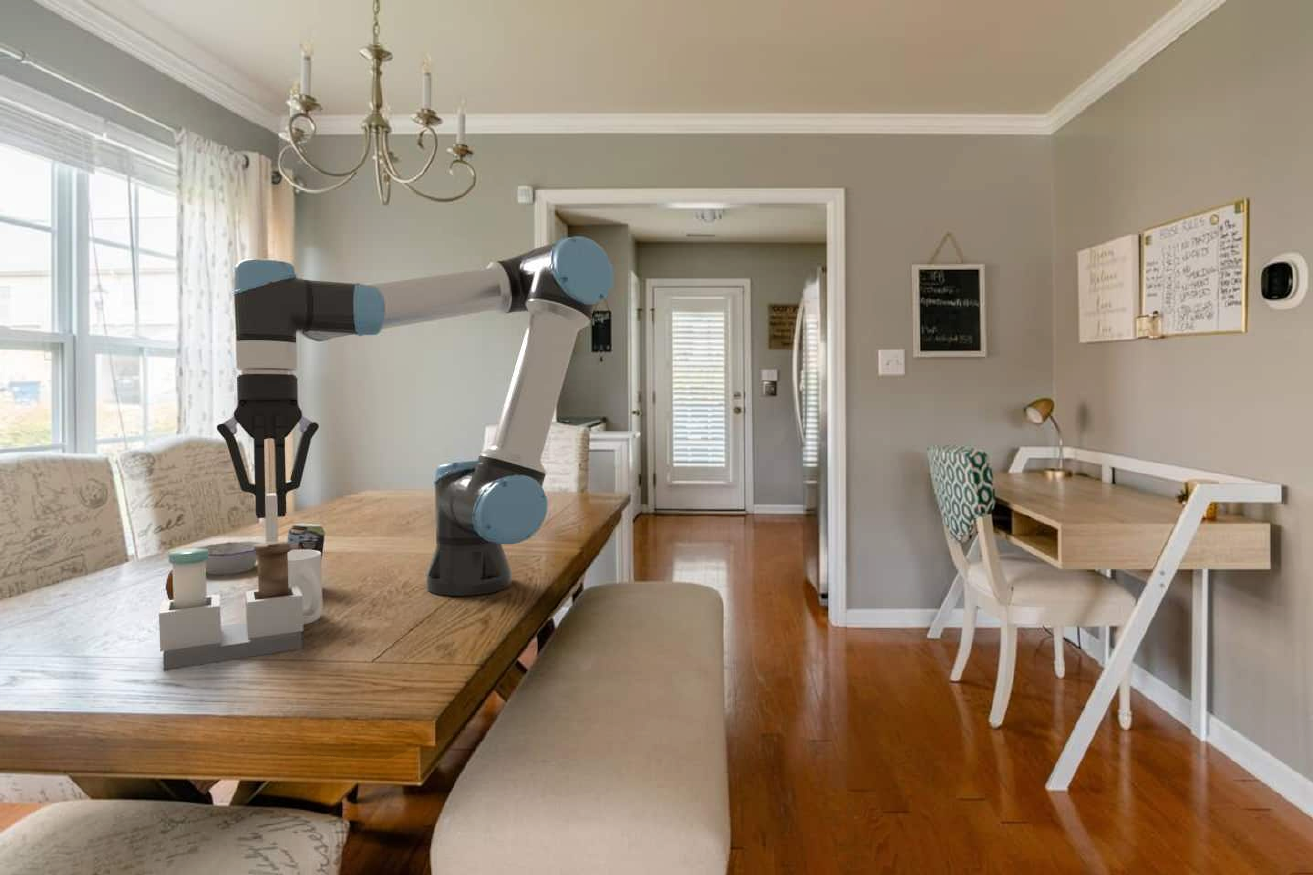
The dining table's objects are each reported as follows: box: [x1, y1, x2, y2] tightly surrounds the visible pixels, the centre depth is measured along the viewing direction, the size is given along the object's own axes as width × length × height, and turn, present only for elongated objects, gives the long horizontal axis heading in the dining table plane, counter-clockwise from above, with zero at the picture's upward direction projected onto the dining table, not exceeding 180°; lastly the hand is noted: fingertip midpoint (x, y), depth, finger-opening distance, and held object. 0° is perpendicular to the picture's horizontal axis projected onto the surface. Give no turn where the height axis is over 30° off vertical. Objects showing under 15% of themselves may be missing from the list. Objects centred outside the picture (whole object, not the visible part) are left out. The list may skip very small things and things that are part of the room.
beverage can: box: [286, 522, 326, 562], centre depth 135 cm, size 6×7×12 cm
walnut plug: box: [254, 541, 291, 599], centre depth 106 cm, size 5×5×8 cm
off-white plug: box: [167, 548, 209, 610], centre depth 100 cm, size 5×5×8 cm
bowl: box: [195, 541, 262, 576], centre depth 150 cm, size 13×13×5 cm
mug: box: [288, 550, 323, 626], centre depth 115 cm, size 12×8×10 cm
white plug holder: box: [158, 585, 304, 671], centre depth 103 cm, size 17×10×7 cm, turn 121°
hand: (271, 540), depth 105 cm, fingers closed
